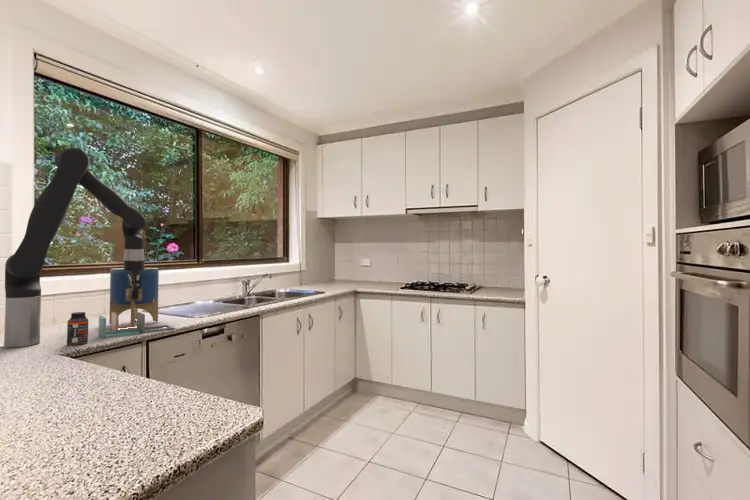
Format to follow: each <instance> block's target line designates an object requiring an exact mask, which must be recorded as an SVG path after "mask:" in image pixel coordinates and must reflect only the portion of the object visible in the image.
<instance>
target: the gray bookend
mask: <svg viewBox="0 0 750 500" xmlns="http://www.w3.org/2000/svg"><path fill="white" fill-rule="evenodd" d="M145 323H146V315H145V314H144V313H142V312H139V311H138V312H137V321H136V325H137V331H139V332H140V333H141V334H147V333H157V332H164V331H165V332H166V331H172V330H173V331H174V330H175V326H171V325H169V324H165V325H163V324H162V325H155V326H149V327H145V325H146V324H145ZM163 327H167V328H163ZM140 333H139V334H140Z"/></svg>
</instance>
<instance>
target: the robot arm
mask: <svg viewBox="0 0 750 500" xmlns="http://www.w3.org/2000/svg"><path fill="white" fill-rule="evenodd" d="M54 164H55V166H56V167H57V168H56V171H55V174H54V175H53V177H52V179H51V181H50V182H49V183H48V185H47V186H46V187H45V188H44V189H43V191H42V192H41V193H40V194H39V196H38V197H37V199H36V201H35V203H34V206H33V208H32V210H31V212H30V214H29V217H28V221H27V226H26V230H25V234H24V237H23V238H22V240H21V243H20V244H19V245H18V248H16V251H14V253H13V254H12V255H10V256H9V257H8V258H7V260H6V262H5V265H4V268H5V269H4V290H5V291H4V292H5V304H4V306H5V309H4V333H3V334H4V336H3V337H4V341H3V349H9V348H21V347H22V348H23V347H28V346H34V345H38V344H40V342H41V317H42V316H41V311H42V309H41V308H42V305H41V304H42V287H41V279H40V278H41V271H42V270H43V267H44V264H45V260H46V257H47V255H48V250H49V248H50V245H51V243H52V241H53V239H54V237H56V235H57V233H58V231H59V229H60V227H61V225H62V223H63V221H64V219H65V217H66V215H67V213H68V211H69V208H70V206H71V203H72V200H73V198H74V194H75V193H76V189H77V187H78V185H80V186H82V187H83V188H84V189H85V190H87V191H88V192H89V193H90V194H91V195H92V196H93V197H94V198H95V199H97V200H98V201H99V203H101V204H102V205H103V206H104V207H105V208H106V209H107V210H108V211H109V212H110V213H111V214H113V215H114V216H115V217H119V218H120V219H122V221H121V228H122V229H121V230H122V234H123V238H124V251H123V252H124V253H123V268H124V271H129V275H127V287H128V289H129V288H132V299H138V298H139V289H140V288H141V276H140V275H139V271H143V270H144V268H145V251H144V249H145V248H144V247H145V246H144V245H145V244H144V242H145V241H144V238H143V237H142V236H141V233H140V232H141V230H143V229H146V226H147V219H146V218H145V216H144V215H143V214H142V213H141V212H140V211H138V210H137V209H135V208H134V207H133V206H131V205H130V204H129V203H128V202H126V201H125V199H123V197H122V196H121V195H119V193H117V191H115V189H112V188H111V187H110V186H108V185H107V184H105V183H104V182H103V181H101V180H100V179H98V177H96V176H95V175H94V174H93V173H92V172H91V171H90V169H88V168H89V167H90V157H89V156H88V154H87V152H85V151H83V150H82V149H79V148H74V147H72V148H67V149H64V150H61V151H59V152H58V153H56V155H55V157H54ZM136 285H137V286H136Z"/></svg>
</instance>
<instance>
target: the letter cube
mask: <svg viewBox="0 0 750 500" xmlns="http://www.w3.org/2000/svg"><path fill="white" fill-rule="evenodd" d="M139 300H142V289H139V298H138V299H132V288H129V289H126V301H139Z"/></svg>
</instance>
